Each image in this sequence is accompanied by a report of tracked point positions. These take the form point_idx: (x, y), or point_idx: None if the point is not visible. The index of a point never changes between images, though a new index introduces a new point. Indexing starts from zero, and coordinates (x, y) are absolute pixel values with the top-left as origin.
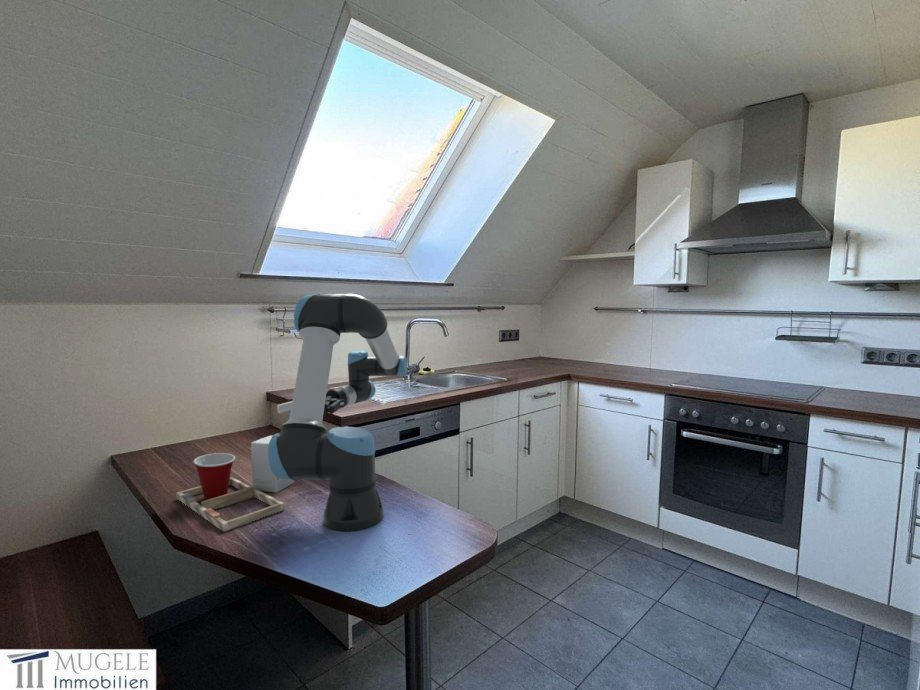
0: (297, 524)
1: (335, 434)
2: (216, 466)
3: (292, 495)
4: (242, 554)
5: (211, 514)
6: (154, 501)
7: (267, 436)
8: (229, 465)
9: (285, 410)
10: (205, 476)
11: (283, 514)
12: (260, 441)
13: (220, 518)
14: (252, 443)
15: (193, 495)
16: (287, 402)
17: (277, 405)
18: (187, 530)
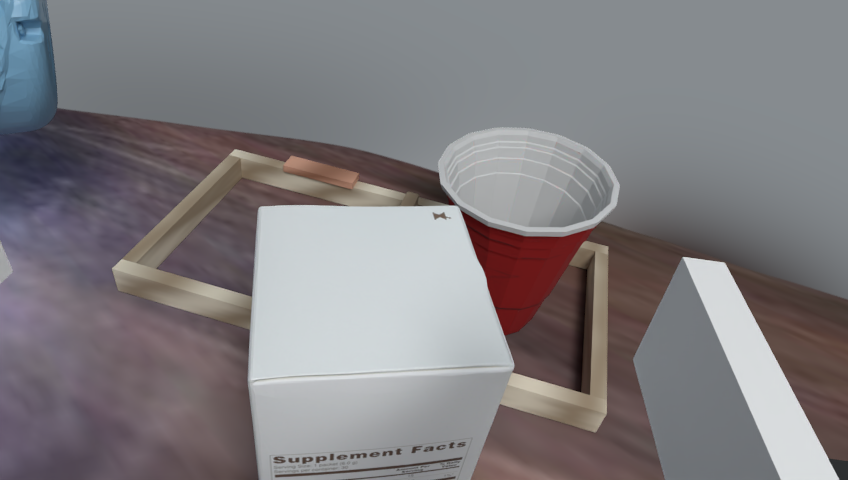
0: (4, 229)
1: None
2: (454, 153)
3: (164, 410)
4: (103, 120)
5: (309, 161)
6: (640, 242)
7: (495, 330)
8: (449, 200)
9: (670, 458)
10: (489, 184)
11: (102, 267)
12: (416, 227)
13: (272, 164)
14: (442, 207)
15: (586, 296)
16: (816, 461)
17: (714, 266)
18: (345, 161)
